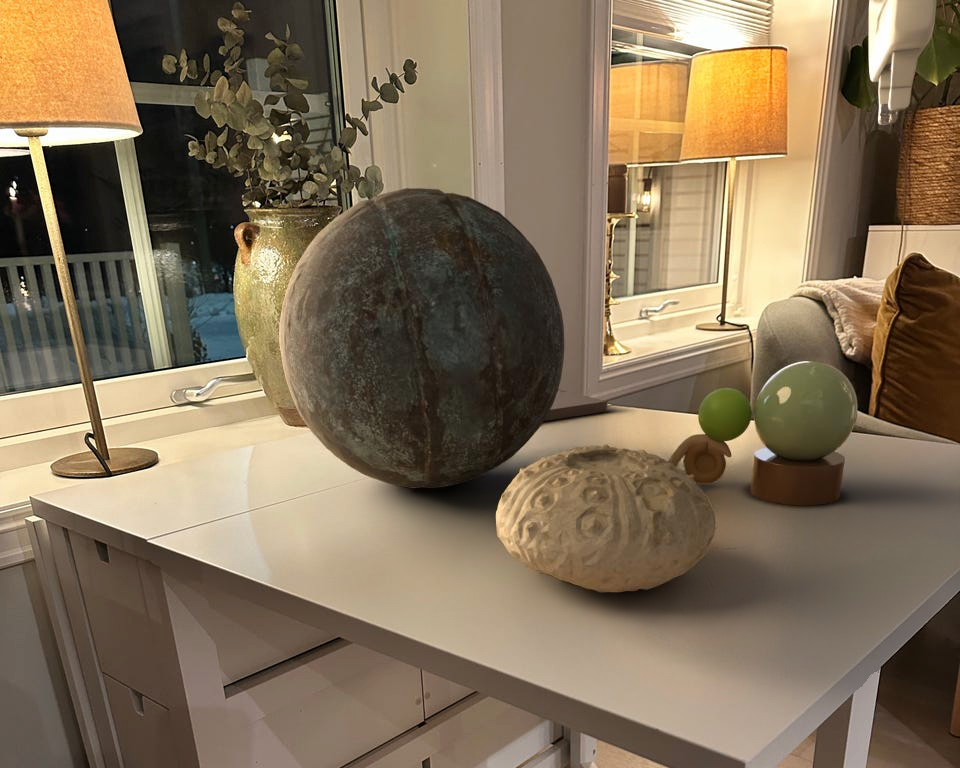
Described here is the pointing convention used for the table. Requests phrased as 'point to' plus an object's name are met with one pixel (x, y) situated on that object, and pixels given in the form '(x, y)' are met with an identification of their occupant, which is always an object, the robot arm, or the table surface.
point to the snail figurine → (714, 435)
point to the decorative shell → (606, 519)
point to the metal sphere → (422, 338)
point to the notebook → (574, 405)
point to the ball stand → (802, 434)
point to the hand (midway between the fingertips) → (892, 117)
